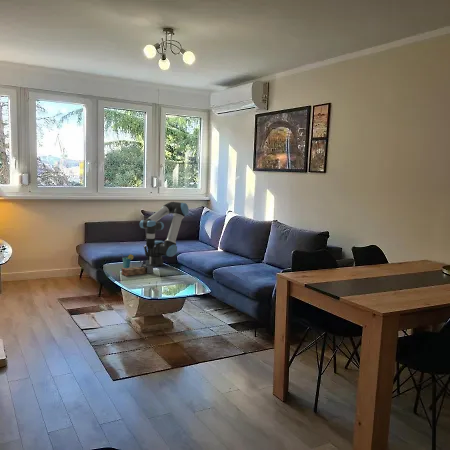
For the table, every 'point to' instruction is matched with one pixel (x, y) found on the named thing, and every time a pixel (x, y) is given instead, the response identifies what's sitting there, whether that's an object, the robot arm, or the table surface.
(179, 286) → the table surface
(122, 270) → the base
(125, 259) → the cup
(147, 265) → the collar
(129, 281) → the table surface
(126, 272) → the hinged jaw
